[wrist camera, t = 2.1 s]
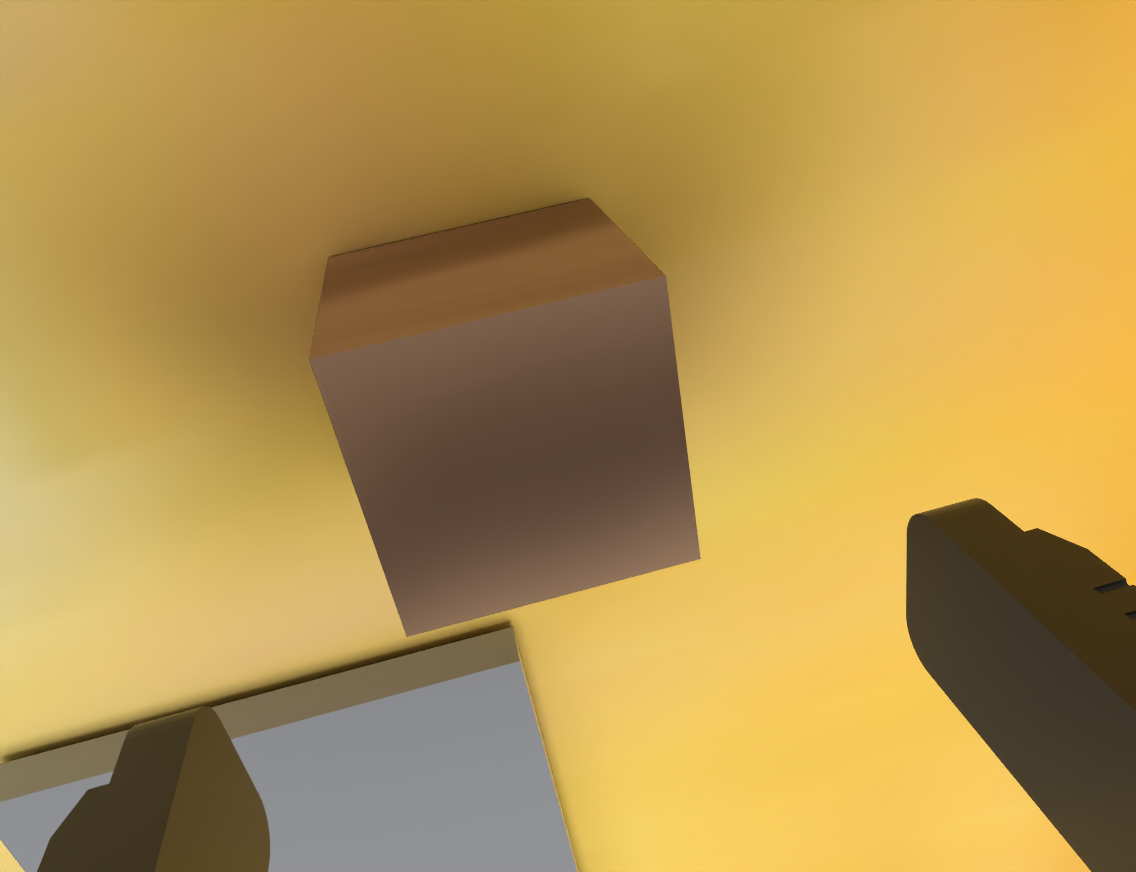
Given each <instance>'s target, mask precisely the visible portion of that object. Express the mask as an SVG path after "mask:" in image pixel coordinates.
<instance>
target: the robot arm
mask: <svg viewBox="0 0 1136 872" xmlns="http://www.w3.org/2000/svg"><path fill="white" fill-rule="evenodd" d="M906 619H907V627H908V631H909V635H910V638H911V641H912V644H913V647H914V649H915V651H916V653H917V655H918V657H919V659H920V661H921V663H922V664H923V666H924V667H925V669H926V670H927V672H928V673H929V674H930V675H931V677H932V678H933V679H934V680H935V681H936V683H937V684H938V685H939V686H940V688H941V689H942V690H943V691H944V692H945V694H946V695H947V696H948V697H949V698H950V700H951V701H952V702H953V703H954V705H955V706H956V707H957V708H958V709H959V711H960V712H961V713H962V714H963V716H964V717H965V718H966V719H967V720H968V722H969V723H970V724H971V725H972V727H973V728H974V729H975V730H976V731H977V733H978V734H979V735H980V736H981V737H982V739H983V740H984V741H985V742H986V744H987V745H988V746H989V747H990V748H991V750H992V751H993V752H994V753H995V755H996V756H997V757H998V758H999V759H1000V761H1001V762H1002V763H1003V764H1004V766H1005V767H1006V768H1007V769H1008V770H1009V772H1010V773H1011V774H1012V775H1013V777H1014V778H1015V779H1016V780H1017V781H1018V783H1019V784H1020V785H1021V786H1022V787H1023V789H1024V790H1025V791H1026V792H1027V794H1028V795H1029V796H1030V797H1031V798H1032V800H1033V801H1034V802H1035V803H1036V805H1037V806H1038V807H1039V808H1040V809H1041V811H1042V812H1043V813H1044V814H1045V816H1046V817H1047V818H1048V819H1049V820H1050V822H1051V823H1052V824H1053V825H1054V827H1055V828H1056V829H1057V830H1058V831H1059V833H1060V834H1061V835H1062V836H1063V837H1064V839H1065V840H1066V841H1067V842H1068V844H1069V845H1070V846H1071V847H1072V848H1073V850H1074V851H1075V852H1076V853H1077V855H1078V856H1079V857H1080V858H1081V859H1082V861H1083V862H1084V863H1085V864H1086V866H1087V867H1088V868H1089V869H1090V870H1091V872H1136V586H1135V585H1131V586H1129V585H1128V584H1127V582H1126V578H1124V577H1123V576H1122V575H1120V574H1119V573H1118V572H1116V571H1115V570H1114V569H1113V568H1111V567H1110V566H1109V565H1107V564H1106V563H1105V562H1103V561H1102V560H1101V559H1100V558H1098V557H1097V556H1096V555H1094V554H1093V553H1092V552H1090V551H1089V550H1088V549H1086V548H1084V547H1081V546H1079V545H1076V544H1074V543H1072V542H1069V541H1067V540H1064V539H1062V538H1060V537H1057V536H1055V535H1052V534H1050V533H1048V532H1045V531H1043V530H1040V529H1038V528H1036V529H1033V530H1029V531H1026V532H1024V531H1023V530H1021V529H1020V528H1019V527H1018V526H1016V525H1015V524H1014V523H1013V522H1012V521H1010V520H1009V519H1008V518H1007V517H1005V516H1004V515H1003V514H1002V513H1001V512H999V511H998V510H997V509H996V508H994V507H993V506H992V505H991V504H989V503H988V502H986V501H984V500H982V499H978V498H975V499H970V500H966V501H963V502H959V503H955V504H952V505H948V506H944V507H941V508H937V509H933V510H930V511H926V512H922V513H919V514H915V515H914V516H912V517H911V519H910V520H909V523H908V527H907V583H906ZM269 861H270V834H269V826H268V820H267V816H266V812H265V808H264V805H263V802H262V800H261V798H260V795H259V793H258V791H257V790H256V788H255V786H254V784H253V782H252V780H251V778H250V776H249V774H248V772H247V770H246V768H245V766H244V764H243V762H242V761H241V759H240V757H239V755H238V753H237V751H236V749H235V747H234V745H233V743H232V741H231V739H230V737H229V735H228V733H227V731H226V730H225V728H224V726H223V724H222V722H221V720H220V718H219V716H218V715H217V713H216V712H215V711H214V710H213V709H212V708H210V707H208V706H203V707H199V708H195V709H192V710H188V711H184V712H181V713H177V714H173V715H170V716H166V717H162V718H159V719H155V720H151V721H148V722H144V723H140V724H137V725H135V726H133V727H132V728H131V729H130V730H129V732H128V733H127V735H126V737H125V740H124V742H123V745H122V748H121V751H120V754H119V757H118V760H117V763H116V765H115V768H114V771H113V774H112V777H111V780H110V783H109V784H106V785H102V786H98V787H95V788H91V789H88V790H87V791H86V792H85V794H84V795H83V796H82V798H81V799H80V800H79V801H78V803H77V804H76V805H75V807H74V808H73V809H72V811H71V812H70V813H69V814H68V816H67V817H66V818H65V820H64V821H63V822H62V823H61V825H60V826H59V827H58V829H57V830H56V831H55V833H54V834H53V835H52V836H51V838H50V840H49V842H48V845H47V848H46V850H45V853H44V855H43V858H42V860H41V863H40V865H39V868H38V870H37V872H268V869H269Z"/></svg>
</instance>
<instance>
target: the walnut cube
mask: <svg viewBox="0 0 1136 872" xmlns="http://www.w3.org/2000/svg"><path fill="white" fill-rule="evenodd" d="M309 361H310V363H311V366H312V369H313V372H314V375H315V378H316V380H317V383H318V386H319V389H320V392H321V395H322V397H323V400H324V403H325V406H326V409H327V412H328V414H329V417H330V420H331V423H332V426H333V429H334V431H335V434H336V437H337V440H338V443H339V446H340V448H341V451H342V454H343V457H344V460H345V463H346V466H347V468H348V471H349V474H350V477H351V480H352V483H353V485H354V488H355V491H356V494H357V497H358V500H359V502H360V505H361V508H362V511H363V514H364V517H365V519H366V522H367V525H368V528H369V531H370V534H371V536H372V539H373V542H374V545H375V548H376V551H377V554H378V556H379V559H380V562H381V565H382V568H383V571H384V573H385V576H386V579H387V582H388V585H389V588H390V590H391V593H392V596H393V599H394V602H395V605H396V607H397V610H398V613H399V616H400V619H401V622H402V624H403V627H404V630H405V633H406V636H407V637H408V636H412V635H416V634H419V633H423V632H427V631H431V630H434V629H438V628H442V627H446V626H450V625H453V624H457V623H461V622H465V621H468V620H472V619H476V618H480V617H483V616H487V615H491V614H495V613H498V612H502V611H506V610H510V609H513V608H517V607H521V606H525V605H528V604H532V603H536V602H540V601H543V600H547V599H551V598H555V597H559V596H562V595H566V594H570V593H574V592H577V591H581V590H585V589H589V588H592V587H596V586H600V585H604V584H607V583H611V582H615V581H619V580H622V579H626V578H630V577H634V576H637V575H641V574H645V573H649V572H652V571H656V570H660V569H664V568H668V567H671V566H675V565H679V564H683V563H686V562H690V561H694V560H698V559H700V551H699V543H698V535H697V527H696V518H695V510H694V502H693V494H692V486H691V478H690V470H689V462H688V454H687V446H686V438H685V430H684V421H683V413H682V405H681V397H680V389H679V381H678V373H677V365H676V357H675V349H674V341H673V333H672V325H671V316H670V308H669V300H668V292H667V284H666V276H665V275H664V274H663V273H662V272H661V271H660V270H659V269H658V268H657V266H656V265H655V264H654V263H653V262H652V261H651V260H650V259H649V258H648V257H647V256H646V255H645V254H644V253H643V252H642V251H641V250H640V249H639V248H638V247H637V246H636V245H635V244H634V243H633V242H632V241H631V240H630V239H629V238H628V237H627V236H626V235H625V234H624V233H623V232H622V231H621V230H620V229H619V228H618V227H617V226H616V225H615V224H614V223H613V222H612V221H611V220H610V219H609V218H608V217H607V216H606V215H605V214H604V212H603V211H602V210H601V209H600V208H599V207H598V206H597V205H596V204H595V203H594V202H593V201H592V200H591V199H590V198H588V199H584V200H580V201H575V202H571V203H566V204H562V205H557V206H553V207H549V208H544V209H540V210H535V211H531V212H527V213H522V214H518V215H513V216H509V217H505V218H500V219H496V220H491V221H487V222H482V223H478V224H474V225H469V226H465V227H460V228H456V229H452V230H447V231H443V232H438V233H434V234H429V235H425V236H421V237H416V238H412V239H407V240H403V241H399V242H394V243H390V244H385V245H381V246H377V247H372V248H368V249H363V250H359V251H354V252H350V253H346V254H341V255H337V256H332V257H328V262H327V267H326V273H325V278H324V283H323V289H322V294H321V299H320V305H319V310H318V315H317V321H316V326H315V331H314V337H313V342H312V348H311V353H310V358H309Z"/></svg>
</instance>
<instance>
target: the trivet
mask: <svg viewBox="0 0 1136 872" xmlns="http://www.w3.org/2000/svg"><path fill="white" fill-rule="evenodd" d="M211 708H212V709H213V710H214V711H215V712H216V713H217V715H218V716H219V718H220V720H221V722H222V724H223V726H224V728H225V730H226V731H227V733H228V735H229V737H230V739H231V741H232V743H233V745H234V747H235V749H236V751H237V753H238V755H239V757H240V759H241V761H242V762H243V764H244V766H245V768H246V770H247V772H248V774H249V776H250V778H251V780H252V782H253V784H254V786H255V788H256V790H257V791H258V793H259V795H260V798H261V800H262V802H263V805H264V808H265V812H266V816H267V820H268V826H269V834H270V861H269V869H268V872H579V870H578V866H577V862H576V859H575V855H574V851H573V848H572V844H571V840H570V837H569V833H568V829H567V825H566V822H565V818H564V814H563V811H562V807H561V803H560V800H559V796H558V792H557V789H556V785H555V781H554V777H553V774H552V770H551V766H550V763H549V759H548V755H547V752H546V748H545V744H544V741H543V737H542V733H541V729H540V726H539V722H538V718H537V715H536V711H535V707H534V704H533V700H532V696H531V693H530V689H529V685H528V681H527V678H526V674H525V670H524V667H523V663H522V659H521V656H520V652H519V648H518V645H517V641H516V637H515V633H514V630H513V627H510V628H506V629H502V630H498V631H495V632H491V633H487V634H483V635H480V636H476V637H472V638H468V639H465V640H461V641H457V642H454V643H450V644H446V645H442V646H439V647H435V648H431V649H427V650H424V651H420V652H416V653H412V654H409V655H405V656H401V657H397V658H394V659H390V660H386V661H383V662H379V663H375V664H371V665H368V666H364V667H360V668H356V669H353V670H349V671H345V672H341V673H338V674H334V675H330V676H326V677H323V678H319V679H315V680H312V681H308V682H304V683H300V684H297V685H293V686H289V687H285V688H282V689H278V690H274V691H270V692H267V693H263V694H259V695H256V696H252V697H248V698H244V699H241V700H237V701H233V702H229V703H226V704H222V705H218V706H214V707H211ZM129 730H130V729H129ZM129 730H125V731H121V732H117V733H114V734H110V735H106V736H102V737H99V738H95V739H91V740H87V741H84V742H80V743H76V744H72V745H69V746H65V747H61V748H58V749H54V750H50V751H46V752H43V753H39V754H35V755H31V756H28V757H24V758H20V759H16V760H13V761H9V762H5V763H1V764H0V840H1V841H2V842H3V844H4V845H5V846H6V848H7V849H8V850H9V851H10V853H11V854H12V855H13V857H14V858H15V859H16V860H17V862H18V863H19V864H20V865H21V867H22V868H23V869H24V871H25V872H37V870H38V868H39V865H40V863H41V860H42V858H43V855H44V853H45V850H46V848H47V845H48V842H49V840H50V838H51V836H52V835H53V834H54V833H55V831H56V830H57V829H58V827H59V826H60V825H61V823H62V822H63V821H64V820H65V818H66V817H67V816H68V814H69V813H70V812H71V811H72V809H73V808H74V807H75V805H76V804H77V803H78V801H79V800H80V799H81V798H82V796H83V795H84V794H85V792H86V791H87V790H88V789H91V788H95V787H98V786H102V785H106V784H109V783H110V780H111V777H112V774H113V771H114V768H115V765H116V763H117V760H118V757H119V754H120V751H121V748H122V745H123V742H124V740H125V737H126V735H127V733H128V732H129Z"/></svg>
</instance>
